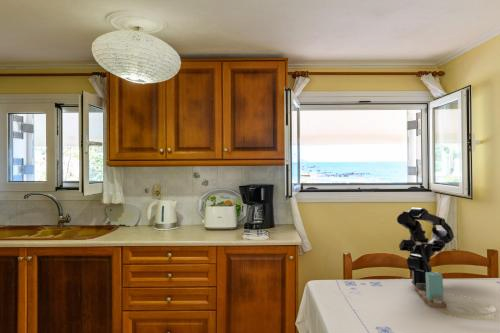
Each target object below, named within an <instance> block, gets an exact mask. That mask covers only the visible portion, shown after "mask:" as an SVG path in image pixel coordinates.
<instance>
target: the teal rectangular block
mask: <svg viewBox="0 0 500 333" xmlns="http://www.w3.org/2000/svg"><path fill="white" fill-rule="evenodd" d="M443 280H444V278H443V274H441V273H440V272H435V271H434V272H432V271H431V272H426V297H427V298H428V299H429V300H430V301H433V295H435V296H441V297H442V301H444V282H443Z"/></svg>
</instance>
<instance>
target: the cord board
mask: <svg viewBox="0 0 500 333" xmlns="http://www.w3.org/2000/svg"><path fill="white" fill-rule="evenodd" d="M414 291H415V293H416V294H418V296H419V297H420V298H421V299H422V300H423V301H424V303H425V304H426V305H427V306H428V307H431V308H442V309H443V308H444V307H447V308H448V303H447V302H446V301H442V297H441V296H435V295H433V301H430V300H429V299H428V298H427V297H426V283H416V286H414ZM444 309H445V308H444Z"/></svg>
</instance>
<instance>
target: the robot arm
mask: <svg viewBox="0 0 500 333" xmlns="http://www.w3.org/2000/svg"><path fill="white" fill-rule="evenodd" d="M396 221H397V223H398V224H399V225H401V226H402V227H404V228H405V229H408V231H409V235H410V236H409V239H407V238H403V239H401V241H400V242H399V245H398V248H399V251H404V252H405V251H406V252H410V254H408V255H409V256H408V257H407V259H406V264H407V267H408V270H409V271H412V272H411V275H412V276H411V277H412V279H411V283H412V284H413V285H414V287H416V283H426V272H432V271H433V270H432V269H433V268H432V266H431V265H430V261H431V260H430V259H431V257H432V256H434V254H435V253H437V252H441V251H443V249H444V248H445V246H446V244H449V243H450V242H452V241H453V240H454V237H455V235H454V232H453V229H452V227H451V226H450V225H449V224H448V223H447V222H446V219H445V218H443V217H440V216H438V215H436V214H435V215H434V214H432V213H429V210H427V209H426V208H424V207H423V208H422V207H411V208H410V209H409V210H408V211H405V210H403V211H402V213H400V214H399V215H398V216H397V217H396ZM420 221H424V222H427V223H429V224H432V229H431V232H432V238H431V240H430V241H429V238H427V237H426V230H424V229H423V227H422V224H421V223H420ZM437 226H441V229H440V228H437Z"/></svg>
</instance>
